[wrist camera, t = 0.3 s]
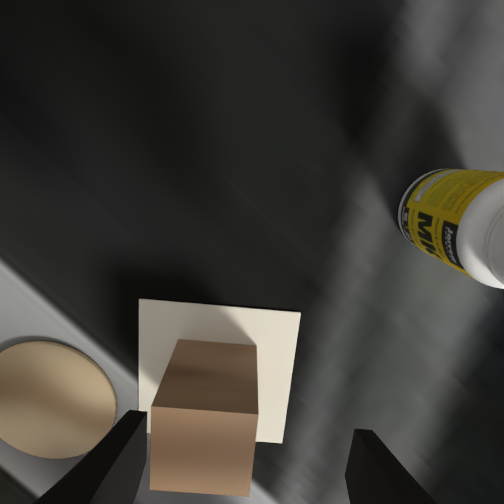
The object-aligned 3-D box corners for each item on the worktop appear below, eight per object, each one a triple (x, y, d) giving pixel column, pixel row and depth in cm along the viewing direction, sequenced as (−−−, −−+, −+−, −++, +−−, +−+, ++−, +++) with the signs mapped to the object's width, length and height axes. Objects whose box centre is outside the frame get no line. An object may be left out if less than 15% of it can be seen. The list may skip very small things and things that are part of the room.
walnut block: (249, 410, 23) (249, 496, 17) (175, 405, 23) (149, 489, 17) (256, 345, 21) (258, 414, 16) (178, 339, 21) (150, 406, 15)
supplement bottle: (379, 206, 19) (472, 240, 11) (450, 149, 18) (608, 142, 10) (425, 266, 20) (541, 339, 12) (494, 216, 19) (669, 257, 11)
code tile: (281, 442, 24) (282, 443, 23) (138, 431, 23) (138, 432, 23) (300, 312, 21) (300, 313, 21) (139, 298, 21) (138, 299, 21)
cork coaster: (117, 458, 24) (115, 463, 24) (-11, 449, 24) (-15, 453, 23) (115, 346, 22) (113, 350, 21) (-27, 335, 21) (-32, 338, 21)
